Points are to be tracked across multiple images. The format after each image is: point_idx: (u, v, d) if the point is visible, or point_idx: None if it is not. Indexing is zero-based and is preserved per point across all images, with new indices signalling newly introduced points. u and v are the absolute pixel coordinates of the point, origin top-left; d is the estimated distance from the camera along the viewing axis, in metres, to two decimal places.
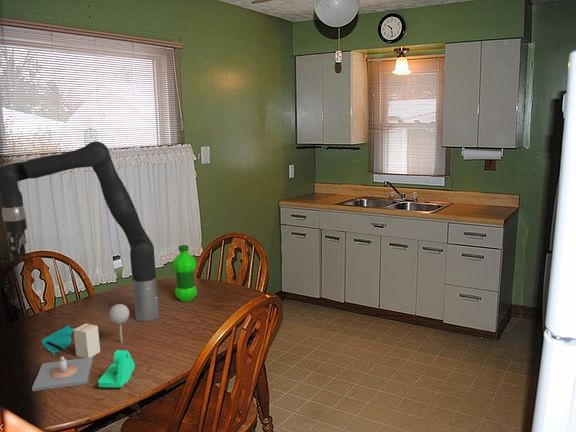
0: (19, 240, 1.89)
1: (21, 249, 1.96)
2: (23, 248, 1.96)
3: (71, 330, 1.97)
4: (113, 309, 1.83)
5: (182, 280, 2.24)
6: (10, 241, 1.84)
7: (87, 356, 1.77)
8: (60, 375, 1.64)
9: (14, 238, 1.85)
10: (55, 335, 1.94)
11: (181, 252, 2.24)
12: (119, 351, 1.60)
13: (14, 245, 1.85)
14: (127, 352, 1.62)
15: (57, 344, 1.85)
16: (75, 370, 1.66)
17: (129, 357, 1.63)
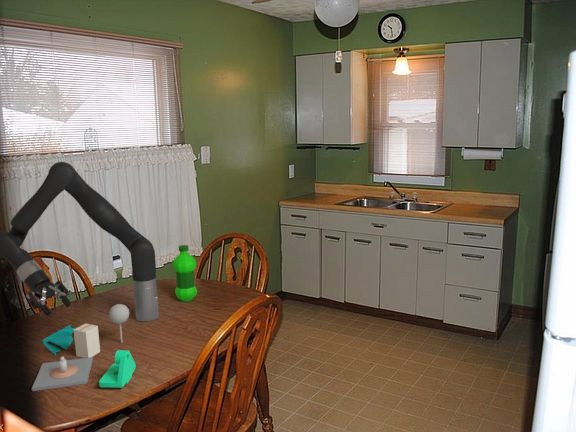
0: (41, 293, 1.79)
1: (63, 300, 1.85)
2: (64, 298, 1.85)
3: (72, 330, 1.97)
4: (113, 309, 1.83)
5: (182, 280, 2.24)
6: (28, 298, 1.77)
7: (87, 356, 1.77)
8: (60, 375, 1.64)
9: (28, 293, 1.76)
10: (56, 335, 1.94)
11: (181, 252, 2.24)
12: (120, 351, 1.60)
13: (31, 300, 1.76)
14: (128, 352, 1.62)
15: (58, 344, 1.85)
16: (75, 370, 1.66)
17: (130, 357, 1.63)
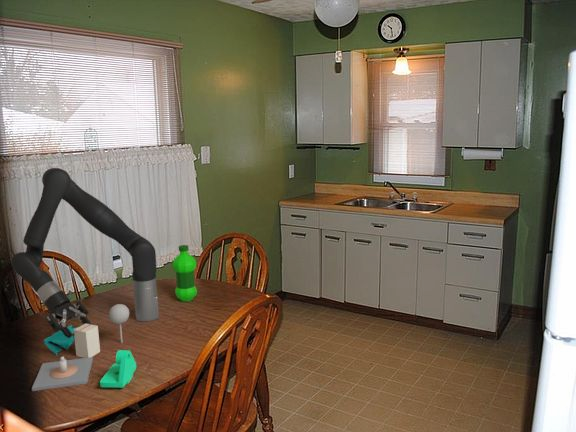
0: (62, 314, 1.77)
1: (83, 321, 1.83)
2: (84, 319, 1.83)
3: (73, 330, 1.98)
4: (113, 309, 1.83)
5: (182, 280, 2.24)
6: (48, 320, 1.75)
7: (87, 356, 1.77)
8: (60, 375, 1.64)
9: (49, 315, 1.74)
10: (57, 335, 1.94)
11: (181, 252, 2.24)
12: (121, 351, 1.60)
13: (52, 322, 1.74)
14: (129, 352, 1.62)
15: (59, 344, 1.85)
16: (75, 370, 1.66)
17: (131, 357, 1.63)
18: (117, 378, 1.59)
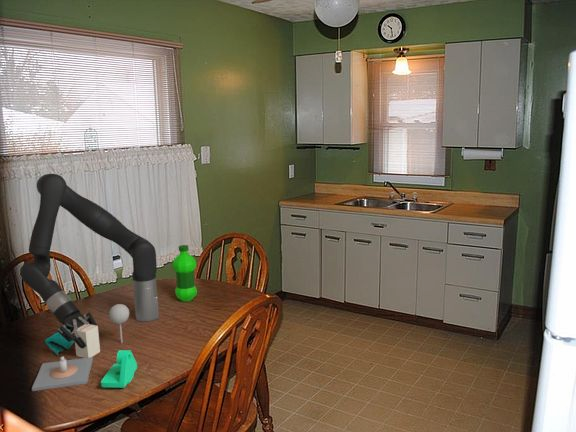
0: (73, 325, 1.77)
1: None
2: None
3: None
4: (113, 309, 1.83)
5: (182, 280, 2.24)
6: (60, 332, 1.74)
7: (87, 356, 1.77)
8: (60, 375, 1.64)
9: (60, 328, 1.73)
10: (58, 335, 1.94)
11: (181, 252, 2.24)
12: (122, 351, 1.60)
13: (65, 334, 1.73)
14: (130, 352, 1.62)
15: (60, 344, 1.85)
16: (75, 370, 1.66)
17: (132, 357, 1.63)
18: (118, 378, 1.59)
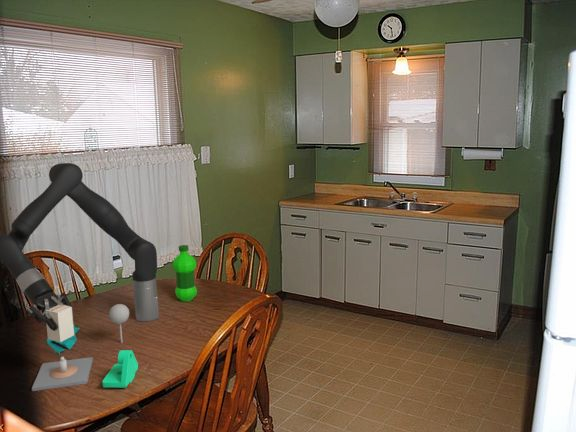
0: (44, 305, 1.63)
1: None
2: None
3: (76, 329, 1.98)
4: (113, 309, 1.83)
5: (182, 280, 2.24)
6: (30, 312, 1.60)
7: (59, 339, 1.62)
8: (60, 375, 1.64)
9: (30, 307, 1.59)
10: None
11: (181, 252, 2.24)
12: (123, 351, 1.60)
13: (35, 314, 1.59)
14: (131, 352, 1.62)
15: (62, 343, 1.85)
16: (75, 370, 1.66)
17: (133, 357, 1.63)
18: (119, 378, 1.59)
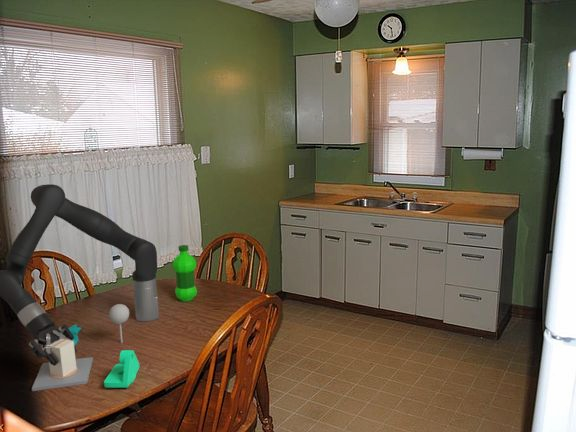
0: (46, 340, 1.63)
1: None
2: None
3: (78, 329, 1.98)
4: (113, 309, 1.83)
5: (182, 280, 2.24)
6: (31, 347, 1.60)
7: (62, 374, 1.63)
8: None
9: (31, 342, 1.59)
10: (62, 334, 1.95)
11: (181, 252, 2.24)
12: (124, 351, 1.60)
13: (35, 349, 1.59)
14: (132, 352, 1.62)
15: None
16: (75, 370, 1.66)
17: (134, 357, 1.63)
18: (121, 378, 1.59)
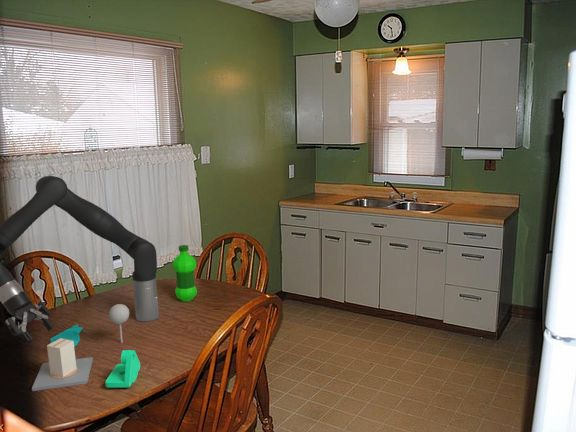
0: (22, 318, 1.68)
1: (45, 323, 1.75)
2: (46, 321, 1.74)
3: (79, 329, 1.98)
4: (113, 309, 1.83)
5: (182, 280, 2.24)
6: (7, 324, 1.65)
7: (62, 374, 1.63)
8: None
9: (8, 320, 1.65)
10: (64, 334, 1.95)
11: (181, 252, 2.24)
12: (126, 351, 1.60)
13: (12, 327, 1.65)
14: (134, 352, 1.62)
15: None
16: (75, 370, 1.66)
17: (135, 357, 1.63)
18: (122, 378, 1.59)
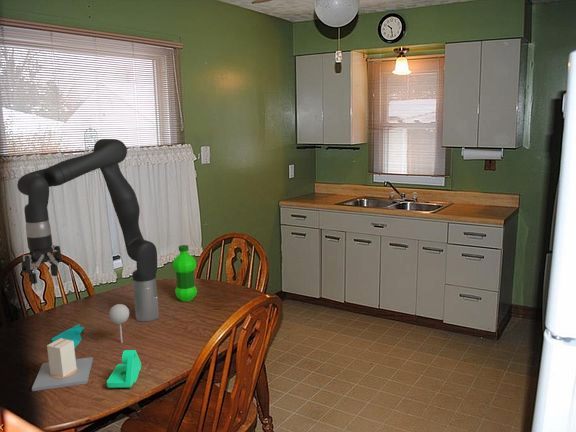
0: (38, 259, 1.69)
1: (52, 267, 1.77)
2: (54, 267, 1.76)
3: (81, 329, 1.98)
4: (113, 309, 1.83)
5: (182, 280, 2.24)
6: (22, 259, 1.66)
7: (62, 374, 1.63)
8: None
9: (25, 257, 1.65)
10: (65, 334, 1.95)
11: (181, 252, 2.24)
12: (127, 351, 1.60)
13: (25, 265, 1.66)
14: (135, 352, 1.62)
15: None
16: (75, 370, 1.66)
17: (136, 357, 1.64)
18: (124, 378, 1.59)
